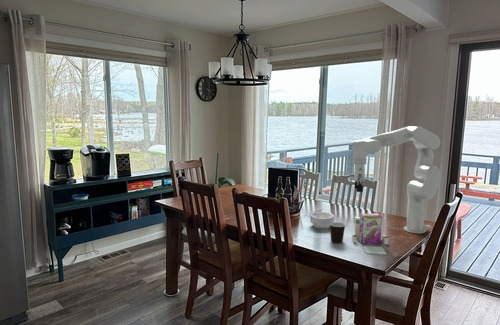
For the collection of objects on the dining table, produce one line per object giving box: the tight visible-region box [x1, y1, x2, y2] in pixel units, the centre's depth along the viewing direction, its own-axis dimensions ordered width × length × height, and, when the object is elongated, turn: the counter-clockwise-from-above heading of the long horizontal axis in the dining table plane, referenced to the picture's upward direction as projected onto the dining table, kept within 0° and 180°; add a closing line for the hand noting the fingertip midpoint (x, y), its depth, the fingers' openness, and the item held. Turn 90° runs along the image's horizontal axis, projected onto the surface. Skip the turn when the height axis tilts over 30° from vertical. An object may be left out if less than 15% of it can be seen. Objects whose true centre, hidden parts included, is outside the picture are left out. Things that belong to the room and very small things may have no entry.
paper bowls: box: [309, 211, 335, 230], centre depth 221 cm, size 15×15×8 cm
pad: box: [362, 245, 387, 256], centre depth 180 cm, size 10×10×1 cm
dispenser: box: [351, 216, 389, 245], centre depth 195 cm, size 18×12×12 cm, turn 82°
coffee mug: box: [329, 221, 346, 244], centre depth 192 cm, size 12×9×10 cm
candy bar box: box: [358, 213, 383, 245], centre depth 191 cm, size 11×5×16 cm, turn 94°
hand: (358, 190), depth 199 cm, fingers open, 9 cm apart
